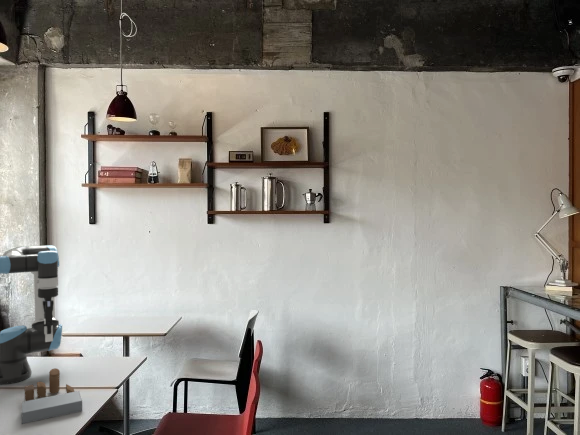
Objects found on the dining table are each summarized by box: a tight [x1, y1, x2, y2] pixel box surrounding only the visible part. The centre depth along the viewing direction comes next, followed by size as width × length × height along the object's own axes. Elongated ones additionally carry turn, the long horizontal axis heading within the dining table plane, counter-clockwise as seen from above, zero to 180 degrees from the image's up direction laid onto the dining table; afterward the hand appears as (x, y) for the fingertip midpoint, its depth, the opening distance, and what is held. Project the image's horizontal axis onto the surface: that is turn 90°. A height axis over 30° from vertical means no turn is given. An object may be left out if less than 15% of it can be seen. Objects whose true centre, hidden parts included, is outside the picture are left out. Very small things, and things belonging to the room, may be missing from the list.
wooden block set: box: [24, 368, 76, 401], centre depth 183 cm, size 18×9×10 cm, turn 126°
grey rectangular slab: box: [21, 390, 83, 424], centre depth 169 cm, size 11×20×4 cm, turn 121°
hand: (48, 337), depth 185 cm, fingers open, 13 cm apart
